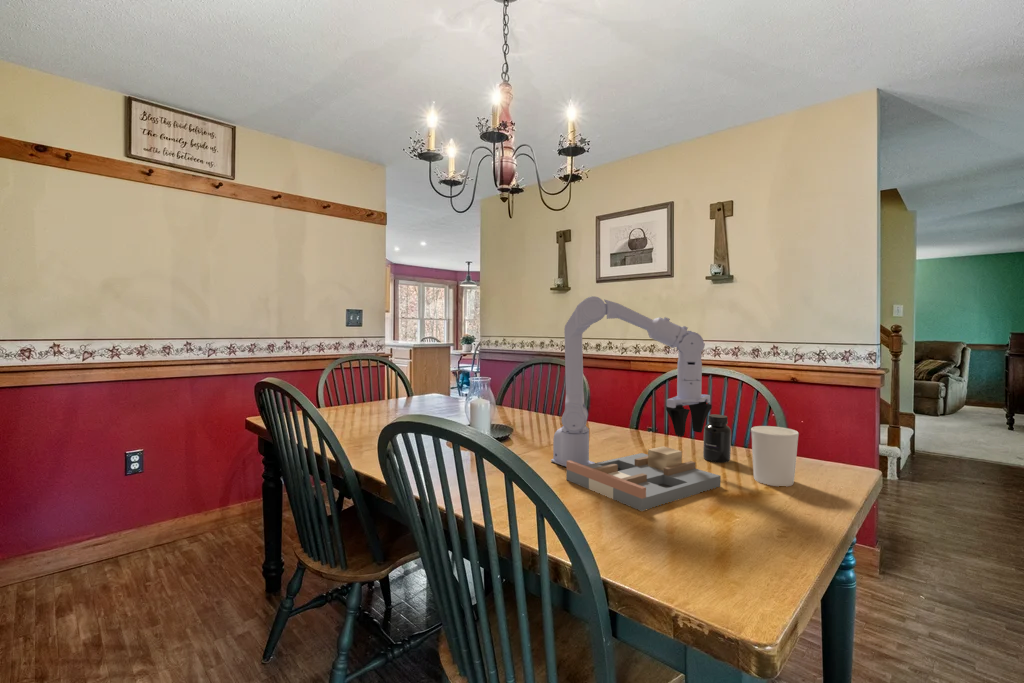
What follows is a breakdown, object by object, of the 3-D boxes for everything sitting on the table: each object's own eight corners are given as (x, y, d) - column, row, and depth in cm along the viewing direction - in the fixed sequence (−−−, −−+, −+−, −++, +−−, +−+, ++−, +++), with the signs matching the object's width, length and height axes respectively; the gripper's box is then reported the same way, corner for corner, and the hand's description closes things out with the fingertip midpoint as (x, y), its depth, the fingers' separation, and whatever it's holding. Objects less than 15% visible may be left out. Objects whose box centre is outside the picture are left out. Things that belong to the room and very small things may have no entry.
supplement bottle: (704, 462, 129) (705, 417, 128) (702, 455, 135) (702, 412, 135) (732, 464, 127) (733, 418, 126) (728, 457, 133) (729, 414, 133)
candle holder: (806, 488, 108) (808, 435, 108) (762, 487, 108) (763, 435, 108) (783, 474, 118) (784, 425, 118) (742, 474, 118) (743, 425, 118)
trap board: (566, 479, 114) (566, 460, 114) (641, 462, 129) (641, 445, 128) (641, 511, 95) (641, 488, 95) (720, 486, 109) (720, 466, 109)
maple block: (647, 465, 117) (648, 449, 117) (662, 462, 120) (663, 446, 120) (666, 471, 112) (666, 454, 112) (681, 467, 115) (681, 451, 115)
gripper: (684, 383, 113) (683, 440, 113) (721, 379, 121) (720, 432, 121) (660, 380, 119) (659, 434, 119) (696, 376, 127) (696, 427, 127)
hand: (688, 433), depth 121 cm, fingers open, 6 cm apart
